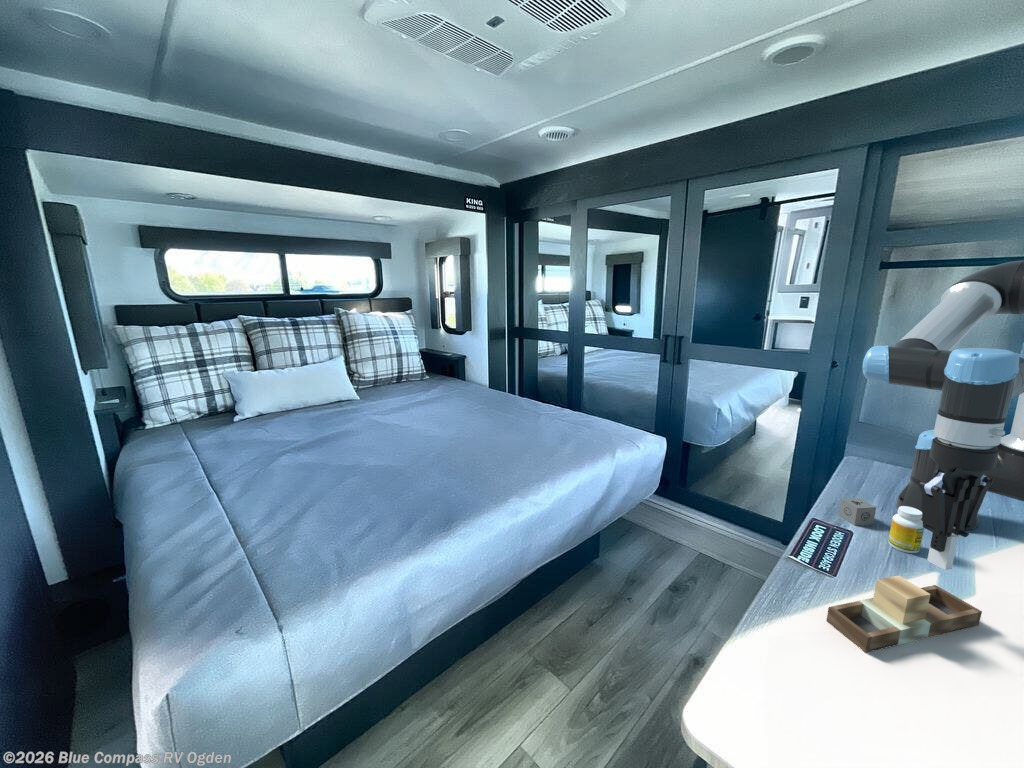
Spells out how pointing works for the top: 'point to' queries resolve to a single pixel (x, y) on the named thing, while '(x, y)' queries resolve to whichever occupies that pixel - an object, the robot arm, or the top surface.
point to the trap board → (882, 630)
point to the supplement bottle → (906, 530)
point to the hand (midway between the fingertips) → (939, 564)
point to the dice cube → (857, 511)
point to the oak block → (901, 599)
